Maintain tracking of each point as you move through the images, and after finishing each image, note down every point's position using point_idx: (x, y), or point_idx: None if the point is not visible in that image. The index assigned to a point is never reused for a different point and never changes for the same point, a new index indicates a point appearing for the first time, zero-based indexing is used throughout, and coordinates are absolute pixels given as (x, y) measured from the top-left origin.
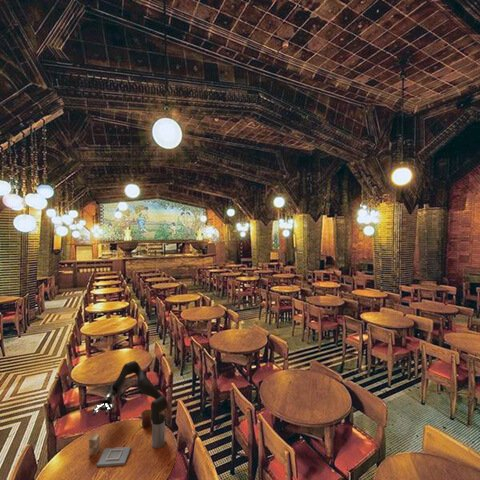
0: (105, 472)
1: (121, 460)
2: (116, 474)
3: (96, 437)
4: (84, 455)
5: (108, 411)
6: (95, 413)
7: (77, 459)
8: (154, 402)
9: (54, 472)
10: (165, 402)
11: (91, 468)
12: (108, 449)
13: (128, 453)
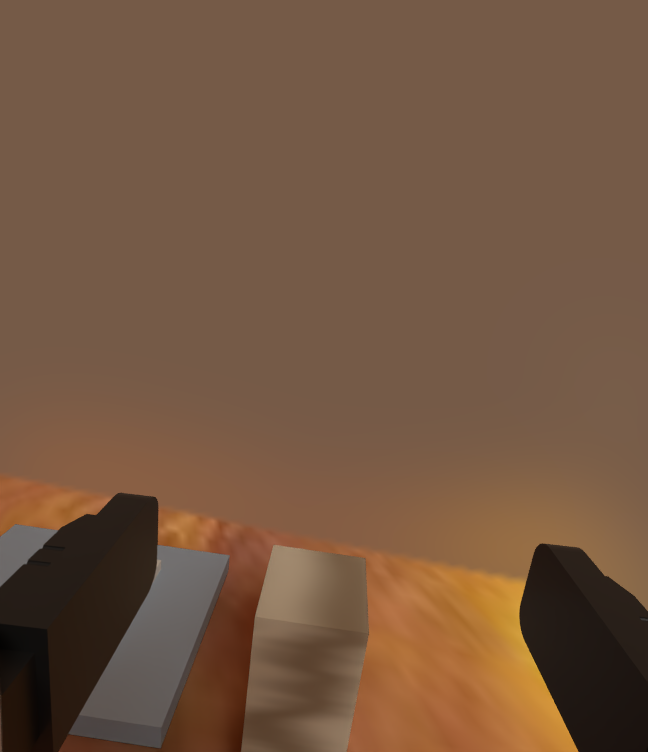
0: (164, 523)
1: (32, 543)
2: (97, 499)
3: (282, 570)
4: (390, 723)
5: (22, 581)
6: (565, 671)
7: (434, 683)
8: None
9: None
10: None
11: (266, 568)
12: (120, 697)
13: None
